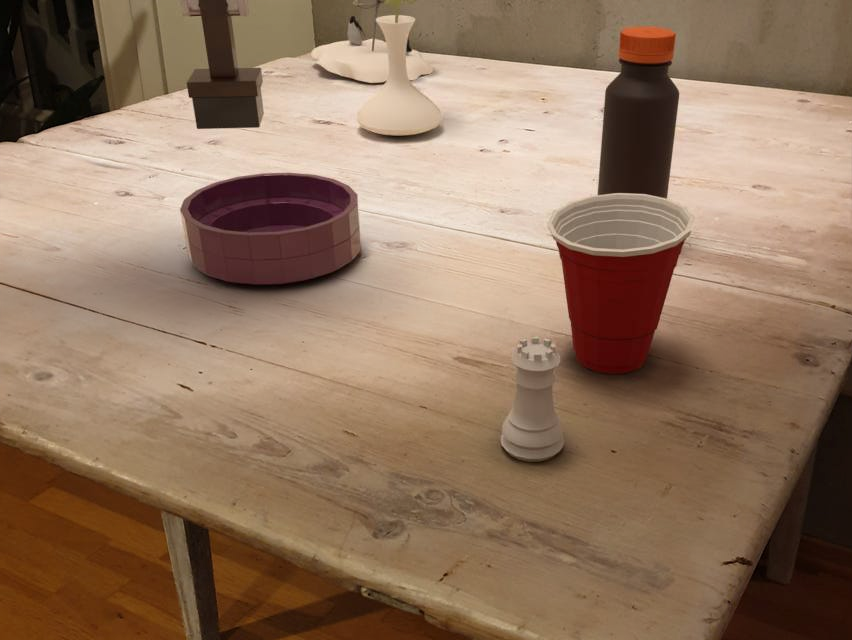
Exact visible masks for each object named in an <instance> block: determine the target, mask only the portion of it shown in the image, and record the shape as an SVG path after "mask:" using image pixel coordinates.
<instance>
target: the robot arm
mask: <svg viewBox="0 0 852 640" xmlns="http://www.w3.org/2000/svg"><path fill="white" fill-rule="evenodd" d="M179 2H180V8H181V13H182V16H183V18H201V12H200V5H199V0H179ZM226 3H227V4H228V6H227V13H228V16H231V17H248V16H249V1H248V0H226Z"/></svg>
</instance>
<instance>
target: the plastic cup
mask: <svg viewBox="0 0 852 640" xmlns="http://www.w3.org/2000/svg"><path fill="white" fill-rule="evenodd" d="M694 222H695V217H694V216H693V214H692V212H691V211H690V210H689V209H688V208H687V207H686V206H684V205H682V204H680V203H678V202H676V201H674V200H672V199H670V198H667V199H666V198H661V197H656V196H652V195H647V194H629V193H614V194H605V195H597V194H596V195H590V196H586V197H583V198H580V199H577V200H573V201H570V202H567V203H566V204H564V205H562V206H561V207H559V208H557V209H555V210H554V211H553V212H552V213H551V215H550V217H549V219H548V221H547V223H546V225H547V228H548V230H549V232H550V235H551V237H552V239H553V241H554V242H555V243H556V244H555V245H556V247H557V249H558V254H559V255H558V256H559V258H560V260H561V267H562V274H563V282H564V291H565V298H566V299H565V300H566V304H567V312H568V319H569V321H570V328H571V329H570V330H571V338H572V348H573V351H574V354H575V358H576V360H577V363H579V364H580V365H582V366H583V367H584V368H586V369H588V370H591V371H593V372H597V373H602V374H609V375H615V374H616V375H617V374H627V373H630V372H631V373H632V372H633V371H637V370H639V369H640V368H641V367H642V366H644V364H645V361H646V359H647V358H648V356H649V352H650V350H651V346H652V342H653V338H654V335H655V333H656V331H657V330H658V327H659V322H660V319H661V316H662V313H663V309H664V305H665V302H666V299H667V296H668V292H669V289H670V285H671V281H672V278H673V274H674V272H675V268H677V265H678V261H679V257H680V255H681V253H682V249H683V245H685V241H686V240H687V238H688V237H690V236H691V234H692V230H693V226H694Z"/></svg>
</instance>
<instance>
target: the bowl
mask: <svg viewBox="0 0 852 640" xmlns="http://www.w3.org/2000/svg"><path fill="white" fill-rule="evenodd" d="M179 213H180V218H181V223H182V224H181V225H182V229H183V235H184V240H185V245H186V251H187V256H188V259H189V261H190V264H191V266H192V267H193V268H195V270H197V271H199V272H201V273H202V274H204V275H205V276H207V277H210V278H215V279H218V280H220V281H221V280H222V281H224V282H228V283H238V284H245V285H246V284H247V285H255V286H256V285H257V286H273V285H275V286H276V285H286V284H294V283H299V282H303V281H308V280H311V279H315V278H318V277H321V276H325V275H328V274H330V273H333V272H336V271H338V270H339V269H341V268H343V267H344V266H346V265H347V264H350V263H352V262H353V260H354V259H355V258H356V257H357V256H358V254H359V253H360V252H361V249H362V248H361V246H362V245H361V243H362V242H361V226H360V211H359V198H358V194H357V192H356V191H354V189H353V188H352V187H351V186H350V185H349V184H346V183H344V182H342V181H340V180H337V179H335V178H332V177H331V178H330V177H326V176H322V175H317V174H311V173H298V172H297V173H296V172H264V173H256V174H249V175H240V176H236V177H231V178H227V179H224V180H220V181H215V182H213V183H211V184H208V185H205V186H203V187H201V188H199V189H197V190H195V191H193V192H192V193H191V194H190V195H188V196H187V197H185V198H184V199H183V201H182V204H181V206H180V209H179Z"/></svg>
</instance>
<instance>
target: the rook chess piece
mask: <svg viewBox="0 0 852 640" xmlns="http://www.w3.org/2000/svg"><path fill="white" fill-rule="evenodd" d="M539 338H540V337H539V336H531V337H530V342H528V339H527V338H526V337H523V338H522V339H520V340H519V343H517V344H516V349H515V350H514V352H513V353H512V355H511V356H510V359H511V362H512V363H513V365H514V366H515V368H516V369H517V371H516V372H515V374H514V376H513V379H514V382H515V383H516V390H515V396H514V401H513V405H512V408H511V409H510V411H509V412H508V415H507V417H506V418H505V419H504V421H503V422H502V426H501V436H500V444H501V446H502V448H504V450H505V451H506V453H508V455H510V456H511V457H513V458H515V459H516V460H518V461H523V462H528V463H531V462H534V463H535V462H537V463H538V462H543V461H547V460H550V459H551V458H553V457H555V456H556V455H557V454H559V453H560V452H561V450H562V448H563V447H564V445H565V440H564V436H563V435H564V427H563V422H562V421H561V419H559V415H558V413H557V411H556V410H555V406H554V397H553V385H554V384H555V383H556V382H557V377H556V375H555V373H554V370H555V369H556V368H557V366H558V365H559V364H560V363H561V356H560V355H559V353H558V352H557V351H556V349H557V348H556V343H552V339H550V338H548V337H545V338H543V342H539Z"/></svg>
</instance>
